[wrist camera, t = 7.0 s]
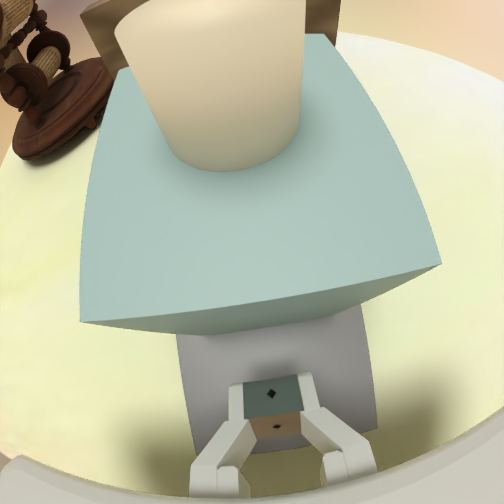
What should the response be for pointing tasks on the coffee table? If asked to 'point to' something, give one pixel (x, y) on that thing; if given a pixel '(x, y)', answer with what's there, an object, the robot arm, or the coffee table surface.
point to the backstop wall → (122, 3)
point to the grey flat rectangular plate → (280, 372)
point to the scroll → (46, 82)
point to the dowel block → (241, 178)
